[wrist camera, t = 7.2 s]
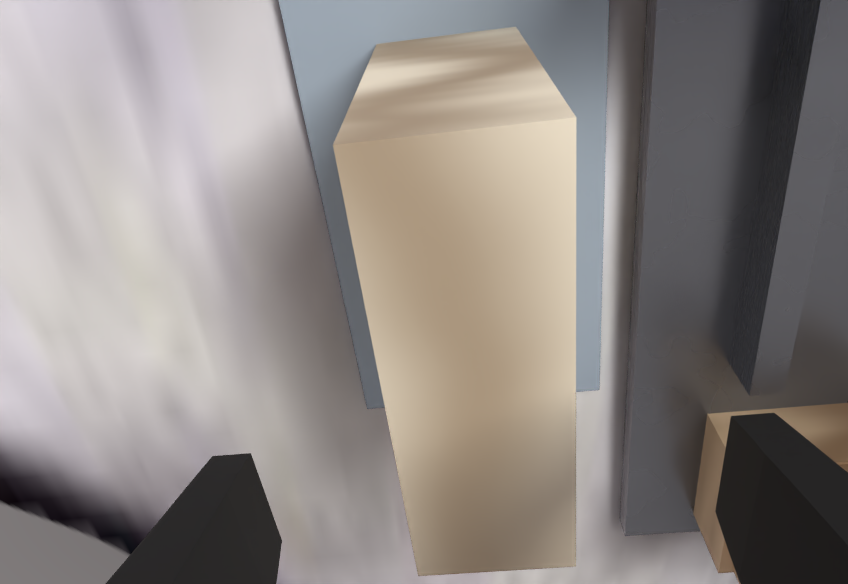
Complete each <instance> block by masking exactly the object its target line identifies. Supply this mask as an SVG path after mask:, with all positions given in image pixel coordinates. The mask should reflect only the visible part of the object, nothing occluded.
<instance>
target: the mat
mask: <svg viewBox="0 0 848 584" xmlns="http://www.w3.org/2000/svg"><path fill="white" fill-rule="evenodd" d="M279 5H280V10H281V14H282V19H283V23H284V28H285V33H286V37H287V42H288V46H289V51H290V56H291V60H292V65H293V69H294V74H295V79H296V83H297V88H298V92H299V97H300V101H301V106H302V111H303V115H304V120H305V124H306V129H307V134H308V138H309V143H310V147H311V152H312V157H313V161H314V166H315V170H316V175H317V180H318V184H319V189H320V193H321V198H322V203H323V207H324V212H325V216H326V221H327V226H328V230H329V235H330V239H331V244H332V249H333V253H334V258H335V262H336V267H337V271H338V276H339V281H340V285H341V290H342V294H343V299H344V304H345V308H346V313H347V317H348V322H349V327H350V331H351V336H352V340H353V345H354V350H355V354H356V359H357V363H358V368H359V373H360V377H361V382H362V386H363V391H364V396H365V400H366V405H367V409H373V408H385V405H384V400H383V395H382V390H381V385H380V380H379V375H378V370H377V365H376V360H375V355H374V350H373V345H372V340H371V335H370V330H369V325H368V320H367V315H366V309H365V304H364V299H363V294H362V289H361V284H360V279H359V274H358V269H357V264H356V259H355V254H354V249H353V244H352V239H351V234H350V229H349V224H348V219H347V214H346V208H345V203H344V198H343V193H342V188H341V183H340V178H339V173H338V168H337V163H336V158H335V153H334V148H333V144H334V141H335V139H336V137H337V134H338V132H339V130H340V128H341V125H342V123H343V121H344V118H345V116H346V114H347V111H348V109H349V107H350V104H351V102H352V100H353V98H354V95H355V93H356V91H357V88H358V86H359V84H360V81H361V79H362V77H363V74H364V72H365V70H366V67H367V65H368V63H369V61H370V58H371V56H372V54H373V51H374V49H375V47H376V44H381V43H389V42H397V41H405V40H413V39H421V38H429V37H437V36H445V35H453V34H461V33H469V32H477V31H485V30H493V29H501V28H509V27H517V29H518V30H519V32H520V33H521V35H522V36H523V38H524V39H525V41H526V42H527V44H528V45H529V47H530V48H531V50H532V51H533V53H534V54H535V56H536V57H537V59H538V60H539V62H540V63H541V65H542V66H543V68H544V69H545V71H546V72H547V74H548V75H549V77H550V78H551V80H552V81H553V83H554V84H555V86H556V87H557V89H558V91H559V92H560V94H561V95H562V97H563V98H564V100H565V101H566V103H567V104H568V106H569V107H570V109H571V110H572V112H573V113H574V115H575V116H576V392H580V391H592V390H599V388H600V348H601V308H602V268H603V227H604V187H605V147H606V107H607V67H608V27H609V0H279Z"/></svg>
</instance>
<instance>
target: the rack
mask: <svg viewBox="0 0 848 584" xmlns="http://www.w3.org/2000/svg"><path fill="white" fill-rule="evenodd" d="M839 403H848V0H647V15H646V34H645V53H644V72H643V91H642V110H641V128H640V147H639V166H638V185H637V204H636V223H635V242H634V261H633V280H632V299H631V318H630V336H629V355H628V374H627V393H626V412H625V431H624V450H623V469H622V488H621V507H620V521H621V524H622V528H623V531H624V534H625V536H630V535H645V534H661V533H676V532H692V531H700V528H699V526H698V524H697V521H696V519H695V517H694V514H693V513H694V506H695V499H696V492H697V484H698V477H699V470H700V463H701V456H702V449H703V441H704V434H705V427H706V420H707V414H711V413H724V412H737V411H749V410H762V409H775V408H788V407H800V406H813V405H826V404H839Z"/></svg>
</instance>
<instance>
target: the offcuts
mask: <svg viewBox="0 0 848 584" xmlns="http://www.w3.org/2000/svg"><path fill="white" fill-rule="evenodd" d="M763 413H775V414H777V415H778V416H779V417H780V418H782V419H783V420H784V421H785V422H787V423H788V424H789V425H790V426H792V427H793V428H794V429H795V430H797V431H798V432H799V433H800V434H801V435H803V436H804V437H805V438H806V439H808V440H809V441H810V442H811V443H812V444H814V445H815V446H816V447H817V448H818V449H820V450H821V451H822V452H823V453H825V454H826V455H827V456H828V457H829V458H831V459H832V460H833V461H834V462H836V463H837V464H838V465H839V466H840V467H842V468H843V469H844V470H845V471H847V472H848V403H839V404H826V405H813V406H800V407H788V408H775V409H762V410H749V411H737V412H724V413H711V414H707V420H706V427H705V434H704V441H703V449H702V456H701V463H700V470H699V477H698V484H697V492H696V499H695V506H694V513H693V514H694V517H695V519H696V521H697V524H698V526H699V528H700V531H701V533H702V535H703V538H704V540H705V543H706V545H707V547H708V550H709V552H710V554H711V557H712V559H713V561H714V564H715V566H716V569H717V571H718V573H728V572H734V573H735V575H736V577H737V580H738V582H739V584H741V583H740V581H739V579H738V576H737V573H736V571H735V568H734V565H733V562H732V560H731V557H730V554H729V551H728V548H727V545H726V542H725V539H724V536H723V533H722V530H721V527H720V524H719V521H718V518H717V515H716V512H715V510H716V504H717V498H718V492H719V486H720V479H721V473H722V467H723V461H724V455H725V449H726V443H727V437H728V431H729V425H730V419H731V416H737V415H750V414H763Z"/></svg>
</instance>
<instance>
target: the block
mask: <svg viewBox="0 0 848 584" xmlns="http://www.w3.org/2000/svg"><path fill="white" fill-rule="evenodd" d="M333 148H334V153H335V158H336V163H337V168H338V173H339V178H340V183H341V188H342V193H343V198H344V203H345V208H346V214H347V219H348V224H349V229H350V234H351V239H352V244H353V249H354V254H355V259H356V264H357V269H358V274H359V279H360V284H361V289H362V294H363V299H364V304H365V309H366V315H367V320H368V325H369V330H370V335H371V340H372V345H373V350H374V355H375V360H376V365H377V370H378V375H379V380H380V385H381V390H382V395H383V400H384V405H385V410H386V416H387V421H388V426H389V431H390V436H391V441H392V446H393V451H394V456H395V461H396V466H397V471H398V476H399V481H400V486H401V491H402V496H403V501H404V506H405V511H406V517H407V522H408V527H409V532H410V537H411V542H412V547H413V552H414V557H415V562H416V567H417V572H418V576H427V575H444V574H460V573H476V572H493V571H509V570H525V569H542V568H558V567H574V566H576V116H575V115H574V113H573V112H572V110H571V109H570V107H569V106H568V104H567V103H566V101H565V100H564V98H563V97H562V95H561V94H560V92H559V91H558V89H557V87H556V86H555V84H554V83H553V81H552V80H551V78H550V77H549V75H548V74H547V72H546V71H545V69H544V68H543V66H542V65H541V63H540V62H539V60H538V59H537V57H536V56H535V54H534V53H533V51H532V50H531V48H530V47H529V45H528V44H527V42H526V41H525V39H524V38H523V36H522V35H521V33H520V32H519V30H518V29H517V27H509V28H501V29H493V30H485V31H477V32H469V33H461V34H453V35H445V36H437V37H429V38H421V39H413V40H405V41H397V42H389V43H381V44H376V47H375V49H374V51H373V54H372V56H371V58H370V61H369V63H368V65H367V67H366V70H365V72H364V74H363V77H362V79H361V81H360V84H359V86H358V88H357V91H356V93H355V95H354V98H353V100H352V102H351V104H350V107H349V109H348V111H347V114H346V116H345V118H344V121H343V123H342V125H341V128H340V130H339V132H338V134H337V137H336V139H335V141H334V144H333Z"/></svg>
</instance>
